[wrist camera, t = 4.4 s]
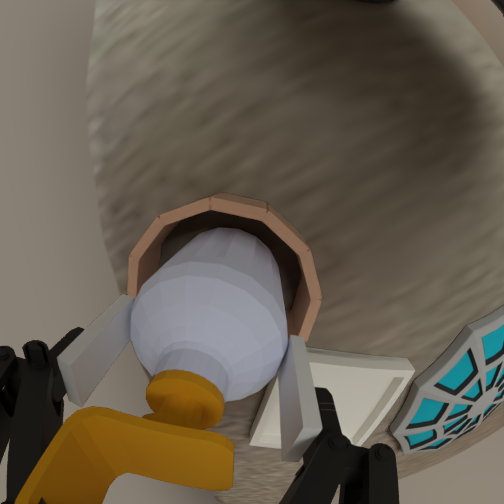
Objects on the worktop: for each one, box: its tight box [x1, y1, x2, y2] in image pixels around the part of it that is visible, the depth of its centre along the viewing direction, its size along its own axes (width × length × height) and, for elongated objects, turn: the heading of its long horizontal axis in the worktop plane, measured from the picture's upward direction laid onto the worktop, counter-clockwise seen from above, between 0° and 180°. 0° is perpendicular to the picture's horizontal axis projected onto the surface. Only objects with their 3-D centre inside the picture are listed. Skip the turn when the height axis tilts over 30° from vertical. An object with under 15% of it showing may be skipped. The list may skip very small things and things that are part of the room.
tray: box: [249, 347, 415, 449], centre depth 26 cm, size 15×15×2 cm
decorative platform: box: [390, 305, 504, 454], centre depth 26 cm, size 31×29×5 cm
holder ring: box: [127, 193, 322, 344], centre depth 21 cm, size 14×14×5 cm
